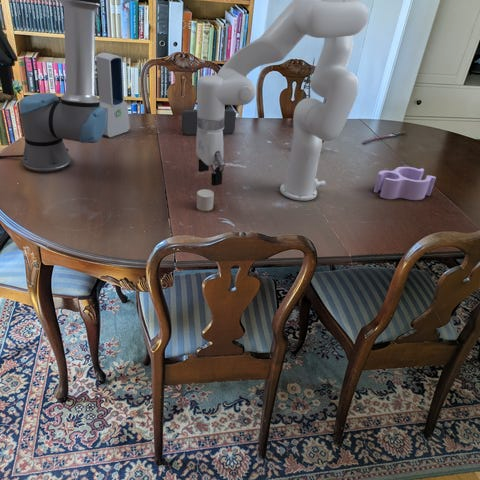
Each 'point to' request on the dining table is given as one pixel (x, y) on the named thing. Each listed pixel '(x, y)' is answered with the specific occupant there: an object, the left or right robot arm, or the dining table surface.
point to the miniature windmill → (306, 82)
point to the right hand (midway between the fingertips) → (210, 177)
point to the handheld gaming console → (191, 121)
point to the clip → (404, 184)
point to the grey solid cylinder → (205, 200)
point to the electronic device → (112, 93)
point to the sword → (383, 137)
